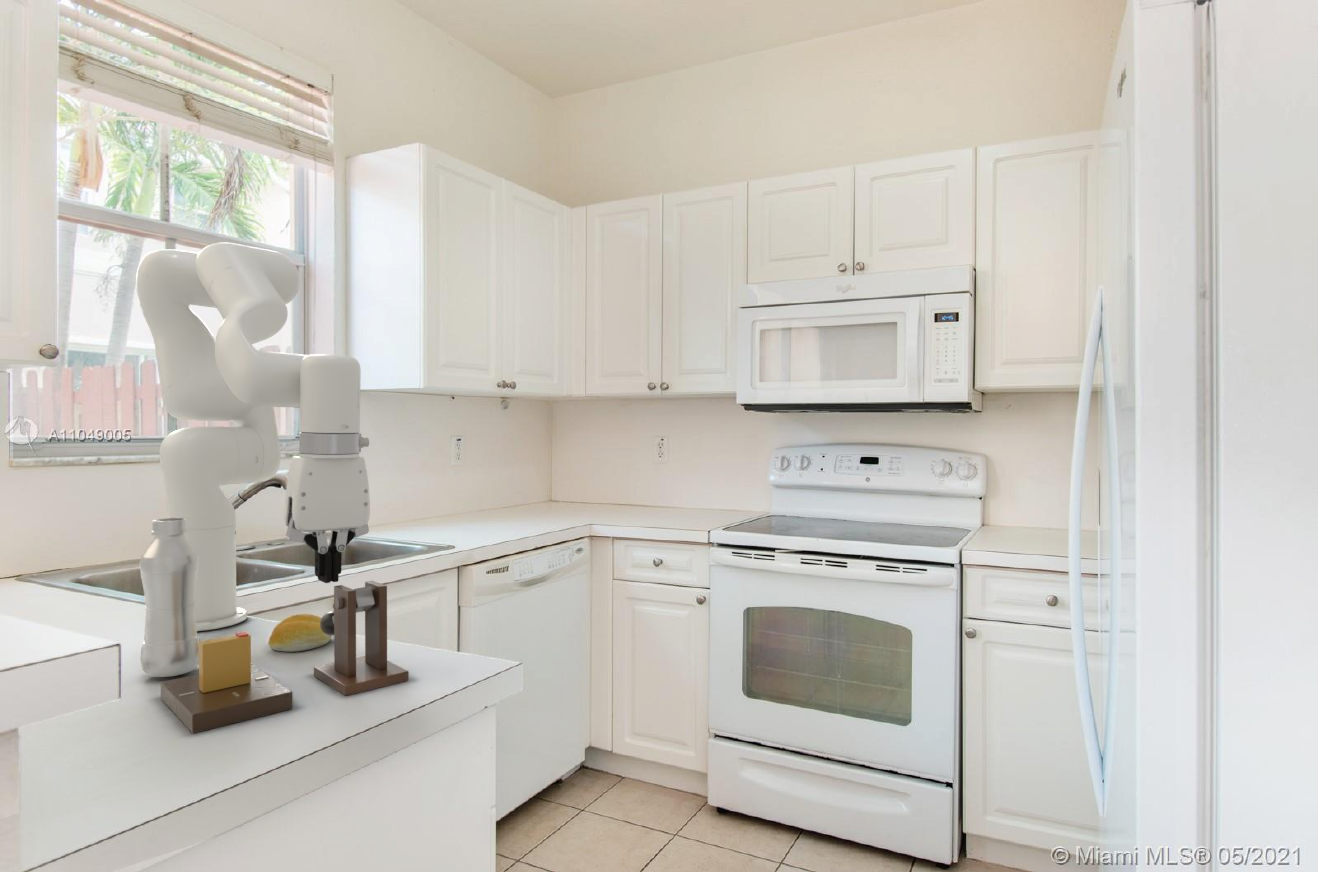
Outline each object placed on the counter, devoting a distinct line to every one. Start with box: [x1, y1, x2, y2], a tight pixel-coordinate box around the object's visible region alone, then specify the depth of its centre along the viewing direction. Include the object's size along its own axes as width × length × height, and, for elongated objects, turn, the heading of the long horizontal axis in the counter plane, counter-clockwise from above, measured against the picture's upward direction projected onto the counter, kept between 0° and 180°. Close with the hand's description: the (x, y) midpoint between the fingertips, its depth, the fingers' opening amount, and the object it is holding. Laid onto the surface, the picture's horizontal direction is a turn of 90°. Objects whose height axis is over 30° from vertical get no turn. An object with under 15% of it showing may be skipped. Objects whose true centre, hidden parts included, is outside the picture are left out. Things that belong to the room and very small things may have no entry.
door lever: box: [320, 586, 375, 636], centre depth 101 cm, size 13×3×3 cm, turn 44°
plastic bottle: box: [138, 517, 200, 678], centre depth 99 cm, size 6×7×20 cm
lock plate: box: [160, 663, 293, 734], centre depth 89 cm, size 14×10×2 cm
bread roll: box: [268, 613, 333, 653], centre depth 113 cm, size 8×9×4 cm
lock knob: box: [198, 631, 252, 693], centre depth 89 cm, size 5×2×6 cm, turn 134°
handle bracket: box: [313, 580, 410, 696], centre depth 98 cm, size 10×8×12 cm
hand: (327, 580), depth 105 cm, fingers closed
